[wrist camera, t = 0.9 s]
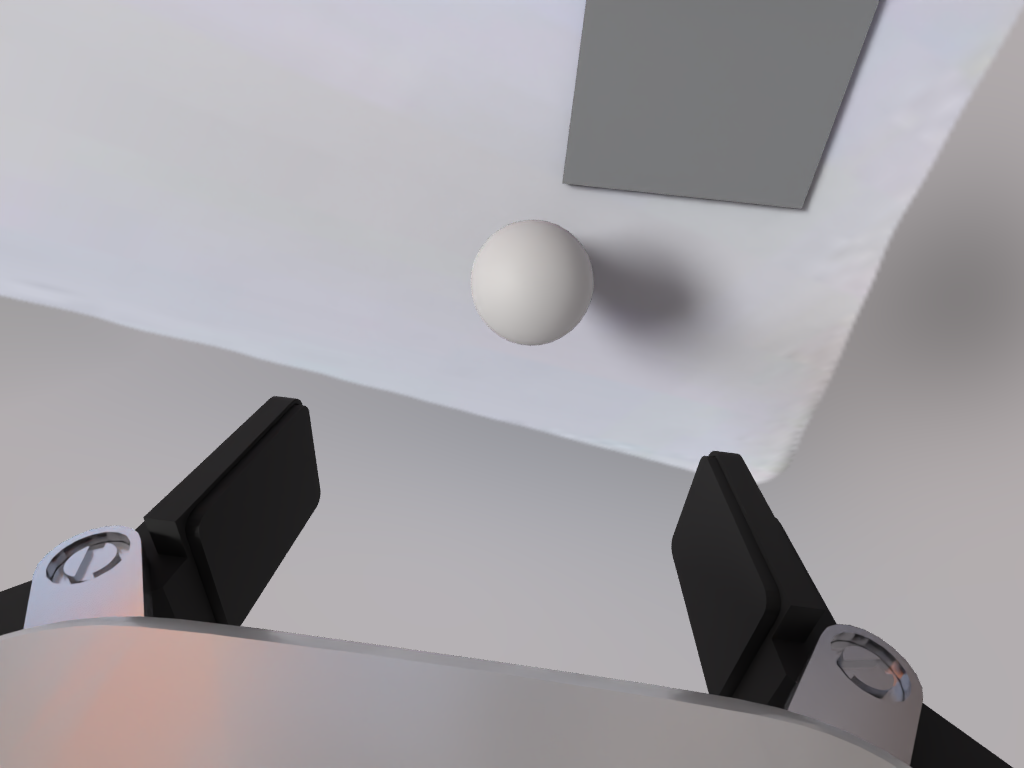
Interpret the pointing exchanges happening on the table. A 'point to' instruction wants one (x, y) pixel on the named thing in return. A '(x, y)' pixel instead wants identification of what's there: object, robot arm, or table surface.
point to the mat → (711, 95)
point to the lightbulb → (532, 282)
